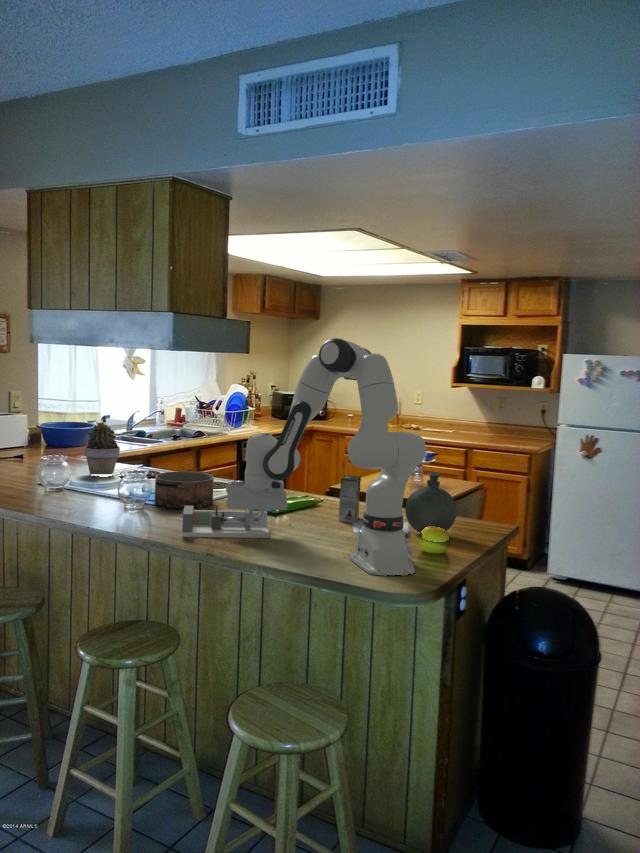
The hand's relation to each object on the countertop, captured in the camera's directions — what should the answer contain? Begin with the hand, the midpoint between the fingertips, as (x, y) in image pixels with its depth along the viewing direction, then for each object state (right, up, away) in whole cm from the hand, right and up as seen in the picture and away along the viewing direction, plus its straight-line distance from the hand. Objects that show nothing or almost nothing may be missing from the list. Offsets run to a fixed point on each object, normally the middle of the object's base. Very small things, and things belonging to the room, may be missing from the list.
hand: (255, 521), depth 232 cm
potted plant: (-79, +9, +85) cm, 117 cm away
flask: (+60, -6, +11) cm, 61 cm away
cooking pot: (-32, +2, +39) cm, 50 cm away
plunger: (-7, -2, -1) cm, 7 cm away
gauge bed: (-10, -3, -1) cm, 11 cm away
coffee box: (+32, -3, +27) cm, 42 cm away
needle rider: (-13, -1, -2) cm, 13 cm away
